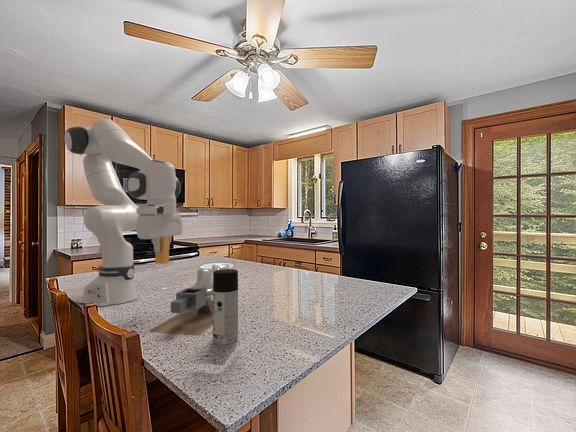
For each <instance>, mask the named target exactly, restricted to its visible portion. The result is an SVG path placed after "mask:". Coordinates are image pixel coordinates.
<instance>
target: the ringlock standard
mask: <svg viewBox="0 0 576 432" xmlns="http://www.w3.org/2000/svg"><path fill="white" fill-rule="evenodd" d="M211 275H212V268H198V269H197V270H196V285H194V286H190V287H186V288H185V289H182V290H180V291H178V292H176V293H175V297H176V299H174V300H173V301H170V313H171V314H178V313H182V312H183V311H185V310H194V311H196V310H197V313H199V314H207V313H210V312H211V311H212V305H213V285H212V277H211Z"/></svg>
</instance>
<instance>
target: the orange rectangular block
mask: <svg viewBox="0 0 576 432" xmlns="http://www.w3.org/2000/svg"><path fill="white" fill-rule="evenodd" d="M159 243H160V246H162V251H159V252H155V251H154V252H155V255H154V256H155V264H156V265H157V264H159V265H161V264H162V265H165V264H167V263H170V246H169V236H166V237H160V241H159Z"/></svg>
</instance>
